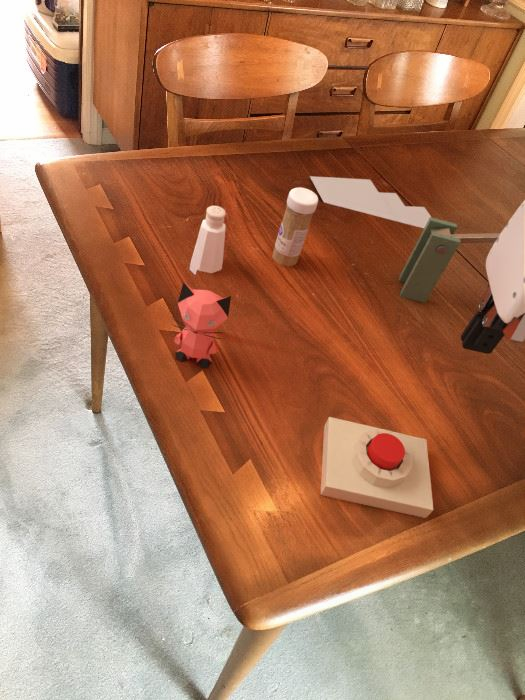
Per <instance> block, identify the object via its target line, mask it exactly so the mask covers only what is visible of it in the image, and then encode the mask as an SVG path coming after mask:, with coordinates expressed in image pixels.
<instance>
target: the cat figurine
mask: <svg viewBox="0 0 525 700" xmlns="http://www.w3.org/2000/svg"><path fill="white" fill-rule="evenodd" d="M231 299H232V295H229V296H226V297H222V296H220V295H218V294H216V292H213V291H211V290H209V289H195V288H192V287H191V286H189V284H187V283H186V282H184V281H183V283H182V286H181V290H180V294H179V297H178V300H177V305H178V309H179V312H180V313H179V314H180V315H181V319H182V322H180V321H178V320H177V319H176V318H174V317H173V316H170V317H171V318H172V320H174V321H175V322H177V323H179V324H180V325H181V326H183V327H184V328H183V327H181V326H178V325H175V324H172V323H171V322H170V324H171V325H172V326H173V327H175V328H178V329H181V330H182V331H181V332H177V333H176V334H175V337H174V340H173V343H175V345H176V346H179V345H180V348H179V349H178V350H176V351H175V353H174V354H175V355H174V357H175V360H177V361H179V362H181V363H182V362H186V361H189V360H190V359H196V363H197V365H198V366H199V367H200V368H203V369H208V368H209V367H211V365H212V364H213V362H212V359H211V355H215V354H217V351H218V344H217V343H216V340H215V339H218V340H223V338H219V337H217V336H214V334H223V333H224V331H220V332H219V331H216V332H215V330H216V329H218V328H219V327H220V326H221V325H223V324H224V323H225V322H226V320H228V319H229V314H230V307H231Z"/></svg>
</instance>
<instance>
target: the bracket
mask: <svg viewBox="0 0 525 700" xmlns="http://www.w3.org/2000/svg"><path fill="white" fill-rule="evenodd" d="M457 224H458V223H455V222H451V221H447V220H443V219H439V218H436V217H432V216H431V217H430V218H429V220H428V222H427V224H426V226H425V228H423V229H422V232H421V234H420V235H419V237H418V239H417V241H416V244H415V245H414V246H413V249H412V251H411V253H410V254H409V256H408V258H407V261H406V263H405V265H404V267H403V269H402V271H401V272H400V274H399V276H398V282H400V283H404V284H403V286H402V288H401V290H400V292H399V297H401V298H405V299H408V300H412V301H416V302H419V303H420V302H421V303H426V302H427V301H428V299H429V297H430V296H431V294H432V292H433V290H434V289H435V287H436V285H437V284H438V282H439V280H440V279H441V277H442V276H443V274H444V272H445V270H446V268H447V267H448V265H449V263H450V262H451V261H452V258H453V256H454V255H455V253H456V251H457V250H458V248H459V246H460V245H461V244H462V243H461V242H460V239H458V238H455V237H451V236H447V235H443V234H439V233H435V232H432V233H431V235H430V230H431V229H442V228H449V229H450V234H455V233H456V230H457V229H458V225H457Z"/></svg>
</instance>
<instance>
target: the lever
mask: <svg viewBox="0 0 525 700" xmlns="http://www.w3.org/2000/svg"><path fill="white" fill-rule="evenodd" d="M432 232H435V233H439V234H443V235H447V236H451V237H455V238H458V239H460V242H461V243H460V244H487V243H488V244H489V243H490V244H491V243H493V244H494V243H495V241H496V240H497V238H498V237H499V235H500V234H501V232H492V233H491V232H489V233H485V232H484V233H483V232H482V233H454V234H450V229H449V228H442V229H431V230H430V235H431V233H432Z"/></svg>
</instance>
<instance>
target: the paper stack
mask: <svg viewBox="0 0 525 700" xmlns="http://www.w3.org/2000/svg"><path fill="white" fill-rule="evenodd" d="M309 178H310V180H311V182H312V184H313V185H314V187H315V189H316V191H317V193H318V194H319V196H320V198H321V200H322V201H323V203H324V204H328V205H332V206H337V207H340V208H344V209H348V210H351V211H356V212H360V213H363V214H367V215H370V216H375V217H379V218H383V219H386V220H391V221H393V222H398V223H402V224H405V225H408V226H414V227H417V228H421V229H424V228H425V226H426V224H427V222H428V220H429V218H430V217H432V215H431V214H430V212H428V210H427V208H426V207H425V206H410V205H409V206H408V205H405V204H404V202H403V201H402V200H401V198H400V196H399V195H398V194H397V192H380V191H378V188H377V187H376V186H375V184H374V183H373V181H372V180H371V179H366V178H349V177H348V178H347V177H332V176H331V177H330V176H329V177H328V176H312V175H309Z"/></svg>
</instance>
